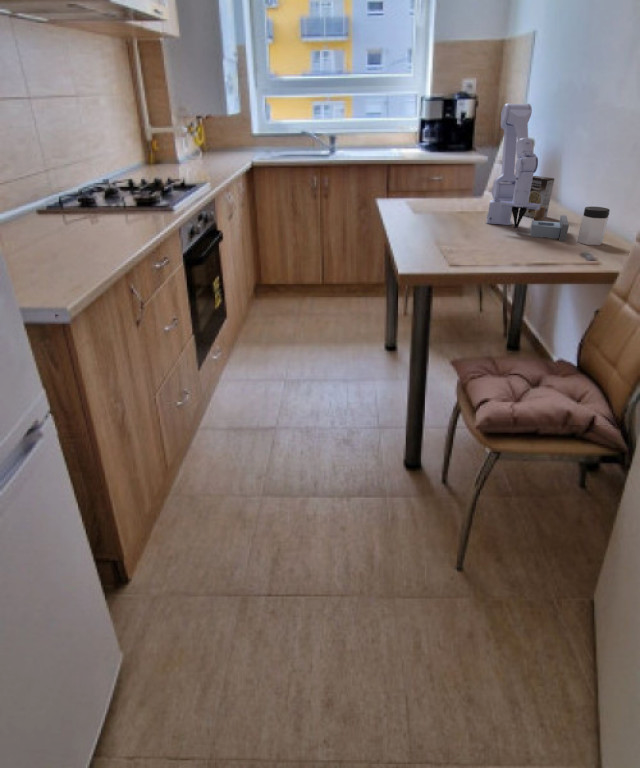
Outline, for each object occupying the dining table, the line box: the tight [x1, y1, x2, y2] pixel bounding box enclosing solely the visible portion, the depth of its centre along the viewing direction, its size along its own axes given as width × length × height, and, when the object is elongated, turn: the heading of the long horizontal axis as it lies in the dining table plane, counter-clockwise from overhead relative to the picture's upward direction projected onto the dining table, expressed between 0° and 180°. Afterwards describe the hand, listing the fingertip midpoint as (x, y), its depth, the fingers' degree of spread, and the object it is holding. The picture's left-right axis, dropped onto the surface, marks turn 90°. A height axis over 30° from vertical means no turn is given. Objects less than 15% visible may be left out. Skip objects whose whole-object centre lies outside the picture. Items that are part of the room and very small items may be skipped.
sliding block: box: [529, 219, 561, 239], centre depth 217 cm, size 10×10×4 cm
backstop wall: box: [558, 214, 570, 242], centre depth 215 cm, size 2×18×6 cm, turn 162°
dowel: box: [533, 206, 546, 221], centre depth 227 cm, size 4×4×8 cm
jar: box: [576, 206, 611, 246], centre depth 205 cm, size 9×8×12 cm
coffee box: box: [523, 175, 555, 218], centre depth 246 cm, size 9×6×16 cm
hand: (516, 227), depth 220 cm, fingers closed
